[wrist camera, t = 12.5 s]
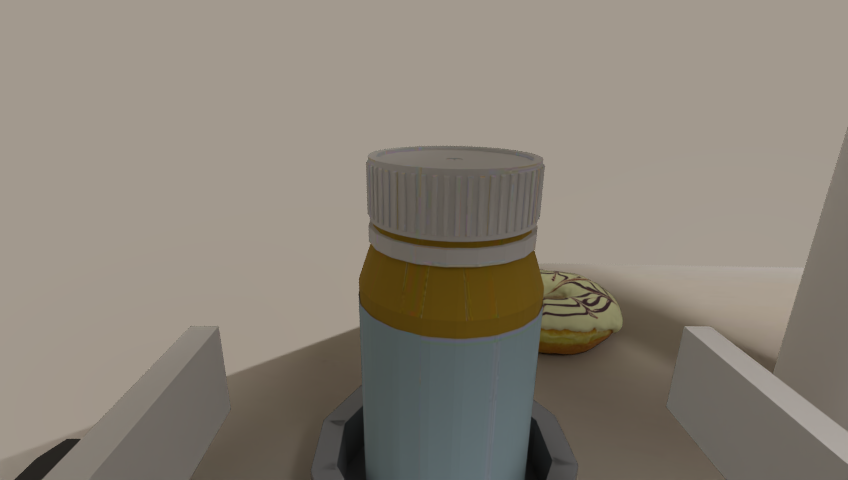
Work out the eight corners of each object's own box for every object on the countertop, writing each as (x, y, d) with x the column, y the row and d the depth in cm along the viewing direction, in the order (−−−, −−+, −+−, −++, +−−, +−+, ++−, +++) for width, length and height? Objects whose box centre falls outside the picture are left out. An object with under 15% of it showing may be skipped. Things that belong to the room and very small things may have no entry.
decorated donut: (647, 347, 33) (656, 302, 32) (528, 378, 29) (533, 328, 28) (558, 292, 42) (562, 255, 41) (458, 310, 38) (460, 270, 37)
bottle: (344, 461, 21) (327, 149, 17) (464, 414, 25) (477, 142, 20) (411, 599, 16) (412, 179, 11) (555, 513, 19) (604, 162, 14)
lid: (533, 406, 26) (538, 361, 25) (631, 644, 15) (647, 578, 14) (332, 409, 26) (329, 364, 25) (273, 657, 14) (263, 591, 13)
